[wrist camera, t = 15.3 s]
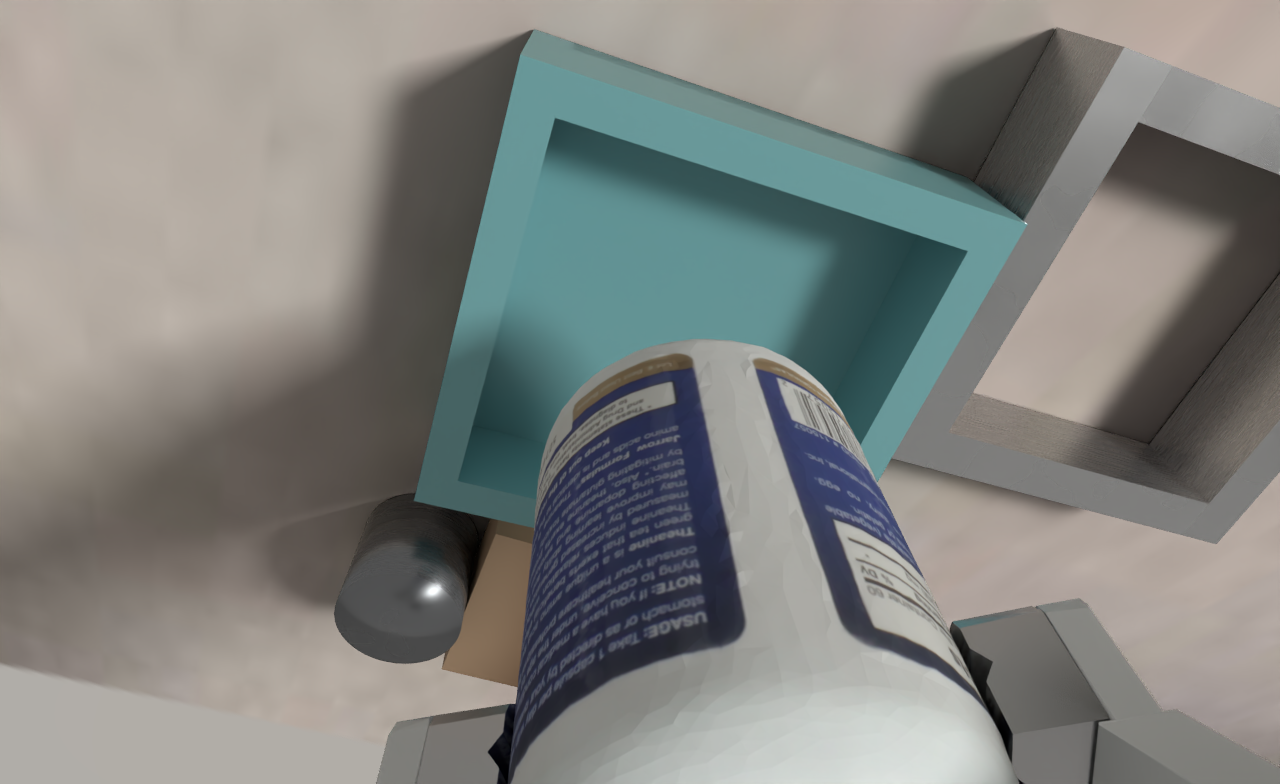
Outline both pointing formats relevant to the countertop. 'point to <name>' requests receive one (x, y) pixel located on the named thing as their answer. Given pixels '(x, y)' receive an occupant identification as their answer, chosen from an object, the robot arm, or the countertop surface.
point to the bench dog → (408, 582)
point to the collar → (1051, 206)
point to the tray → (693, 262)
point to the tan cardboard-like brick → (495, 606)
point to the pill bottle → (730, 594)
